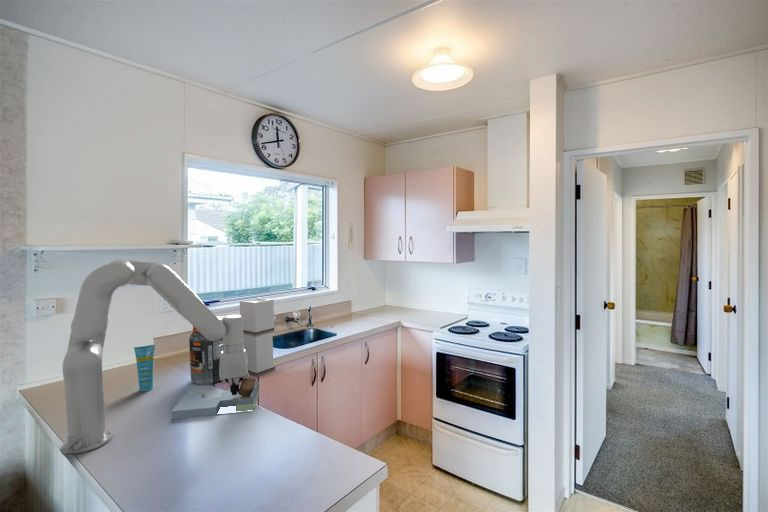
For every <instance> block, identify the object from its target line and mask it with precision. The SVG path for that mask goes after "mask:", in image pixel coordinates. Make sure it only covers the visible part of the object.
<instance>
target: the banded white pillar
mask: <svg viewBox="0 0 768 512" xmlns="http://www.w3.org/2000/svg"><path fill="white" fill-rule="evenodd" d="M274 305H275V303H274V299H272V298H264V297H256V301H248V300H239V315H240V316H242V318H243V334H244V349H246V353H247V359H248V374H249V376H250V377H253V378H255V377H256V378H259V377H263V376H265V375H267V374H268V375H269V374H270V373H273V372H275V371H276V365H274V341H273V340H274V338H273V336H274V335H275V311H274V310H275V307H274Z"/></svg>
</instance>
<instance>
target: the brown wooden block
mask: <svg viewBox="0 0 768 512" xmlns="http://www.w3.org/2000/svg"><path fill="white" fill-rule="evenodd" d="M256 381H257V379H256V378H255V377H253V376H249V377H248V378H247V379H243V380H242V381H241V382H240V383H241V384H240V385H239V392H238V394H239V395H241V396H245V397H249V396H250V395H251V393H252V390H253V388H254V385H255V383H256Z"/></svg>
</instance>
